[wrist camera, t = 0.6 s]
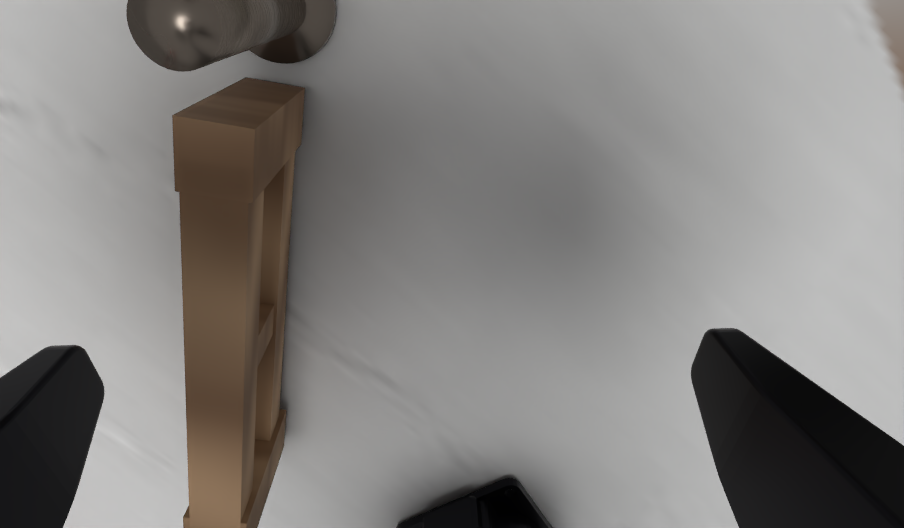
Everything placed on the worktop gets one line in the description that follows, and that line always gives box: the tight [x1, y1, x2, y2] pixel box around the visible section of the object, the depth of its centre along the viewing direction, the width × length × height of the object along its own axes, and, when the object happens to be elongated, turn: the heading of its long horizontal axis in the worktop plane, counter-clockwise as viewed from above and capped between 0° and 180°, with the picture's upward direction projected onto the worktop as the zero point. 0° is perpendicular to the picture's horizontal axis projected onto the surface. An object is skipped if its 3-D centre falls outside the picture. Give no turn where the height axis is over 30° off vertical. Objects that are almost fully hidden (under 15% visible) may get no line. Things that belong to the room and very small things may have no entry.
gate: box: [172, 77, 305, 528], centre depth 19 cm, size 15×2×6 cm, turn 170°
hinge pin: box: [127, 0, 336, 71], centre depth 14 cm, size 3×3×8 cm
